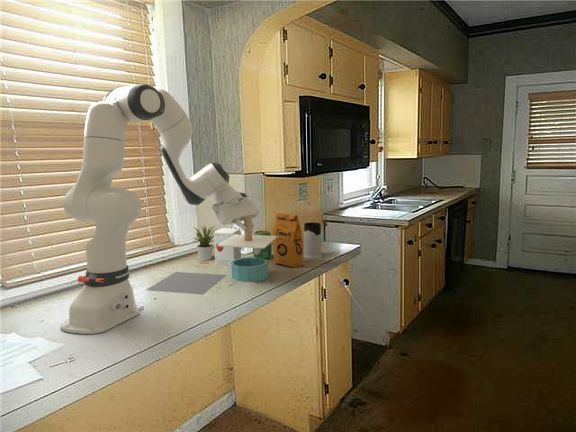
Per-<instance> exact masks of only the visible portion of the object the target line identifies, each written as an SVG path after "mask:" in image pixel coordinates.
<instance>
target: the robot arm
mask: <svg viewBox="0 0 576 432" xmlns="http://www.w3.org/2000/svg"><path fill="white" fill-rule="evenodd" d="M145 121H150V122H151V123H152V125H153V126H154V127H155V129H156V130H157V131H158V133H159V134H160V138H161V145H160V152H161V154H162V156H163V159H164V160H165V161H164V162H165V163H166V165H167V166H168V167H167V168H168V169H169V171H170V173H171V174H172V176H173V179H174V180H175V183H176V184H177V185H178V187H179V192H180V194H181V196H182V199H184V201H185V202H186V203H187V204H189V205H192V206H199V205H200V204H202V203H203V202H204V201H205V200H206V199H207V198H208V197H210V196H211V197H212V198H213V199H214V202H215V203H213V205H212V207H211V208H212V210H213V212H214V214H215V217H216V218H217V220H218V222H219V224H221V225H222V226H228V225H232V224H233V225H234V224H235V226H237V227H239V229H240V230H242V231H243V232H244V230H247V228H248V227H247V225H246V224H244V217H247V216H250V217H252V229H254V228H255V227H256V224H255V223H254V220H253V219H255V218H257V217H258V215H259V214H260V210H259V208H258V207H257V205H256V203H254V201H252V200H251V199H250V198H249V194H247V193H245V192H240V191H238V190H235V188H233V187H232V186H231V185H230V184H229V182H230V175H229V173H228V172H227V171H225V169H224V168H223V166H222V164H221V163H218V162H210V163H209V164H207V165H206V166H204V167H203V168H201V169H200V170H199V171H198V172H196V173H195V174H193V175H192V176H191V177H187V176H186V174H185V172H184V170H183V168H182V165H181V164H180V158H181V155H182V152H183V151H184V150H185V149H186V147H187V146H188V144H189V143H190V141H191V139H192V135H193V131H194V128H193V127H194V126H193V123H192V122H191V120H190V118H189V116H188V115H187V114H186V112H185V110H184V109H183V108H182V106H181V105H180V104H179V102H178V101H177V100H176V99H175V97H173V95H171V94H170V93H169V92H168V91H167V90H165V89H157V88H156V87H154V86H151V85H149V84H144V83H137V84H135V85H134V84H133V85H124V86H122V87H118V88H116V89H111V90H110V91H109V92H108V93H106V94H105V96H104V97H103V99H102V101H98V102H94V103H92V104H91V105H90V106H89V108H88V111H87V115H86V118H85V122H84V123H85V124H84V131H83V149H82V150H83V151H82V153H83V154H82V163H81V168H80V171H79V174H78V177H77V180H76V181H75V183H74V185H73V187H72V188H71V189H70V190H68V192H66V193H65V196H64V197H63V202H62V204H63V210H64V212H65V214H66V215H67V216H68V217H70V218H72V219H74V220H77V221H79V222H81V223H89V224H91V223H92V224H95V230H94V235H93V237H92V238H91V239H90V240H89V241H87V242H86V245H85V257H86V266H87V270H86V272H85V275H78V277H77V282H78V283H83V284H84V286H83V287H82V288H81V290H80V291H79V293H78V294H77V296H76V297H75V299H73V301H72V303H71V304H70V306H69V309H68V311H69V312H68V315H69V316H68V318H67V320H65V321H64V322H63V323H61V324H60V325H59V326H60V330H61V331H63V332H67V333H72V334H81V335H90V334H91V335H93V334H100V333H104V332H106V331H108V330H110V329H113V328H114V327H116V326H118V325H120V324H122V323H124V322H126V321H128V320H130V319H132V318H134V317H136V316H138V315H139V314H140V310H139V308H137V306H136V301H135V300H136V299H135V295H134V289H133V286H132V284H131V283H130V280H129V278H130V269H129V265H128V263H127V247H126V246H127V245H126V243H127V236H128V233H129V230H130V229H131V226H132V225H133V223H134V222H136V220H137V219H138V218H139V217H140V214H141V212H142V202H141V199H140V197H139V195H138V194H137V193H136V192H134V191H131V190H130V189H126V188H122V187H115V186H113V187H112V183H113V180H114V179H115V176H116V175H118V173H120V172H121V171H122V170H123V168H124V164H125V141H126V140H125V139H126V137H125V135H126V134H125V132H126V127H127V124H128V123H132V124H133V123H134V124H135V123H140V122H145Z"/></svg>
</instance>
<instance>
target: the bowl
mask: <svg viewBox="0 0 576 432" xmlns="http://www.w3.org/2000/svg"><path fill="white" fill-rule="evenodd" d="M230 264H231V266H230V278H231V279H232V280H234V281H237V282H247V283H248V282H249V283H250V282H253V283H259V282H262V281H266V279H268V277H269V262H268V260H266V259H262V258H255V257H253V256H252V257H251V256H250V257H248V256H247V257H241V258H240V259H236V260H233V261H232V262H230Z"/></svg>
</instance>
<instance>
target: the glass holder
mask: <svg viewBox="0 0 576 432" xmlns="http://www.w3.org/2000/svg"><path fill="white" fill-rule="evenodd" d="M303 230H304V231H303V258H306V259H320V258H322V257H323V255H322V240H323V235H324V224H322V223H320V222H314V221H313V222H305V223H304V225H303Z"/></svg>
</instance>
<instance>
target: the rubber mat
mask: <svg viewBox="0 0 576 432" xmlns="http://www.w3.org/2000/svg"><path fill="white" fill-rule="evenodd" d="M226 276H227V274H215V273H214V274H213V273H197V272H182V271H181V272H180V271H175V272H173V273H171V274H170V275H168V276H166V277H165V278H163V279H162V280H159V281H158V282H156V283H155V284H153V285H151V286H150V287H148V288H146V289H145V291H151V292H152V291H154V292H165V293H166V292H167V293H180V294H190V295H194V294H195V295H204V294H205V293H207V292H208V291H209V290H210V289H212V288H213V287H214V286H215V285H217V284H218V283H220V281H222V280H223V279H224V278H225V277H226Z"/></svg>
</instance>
